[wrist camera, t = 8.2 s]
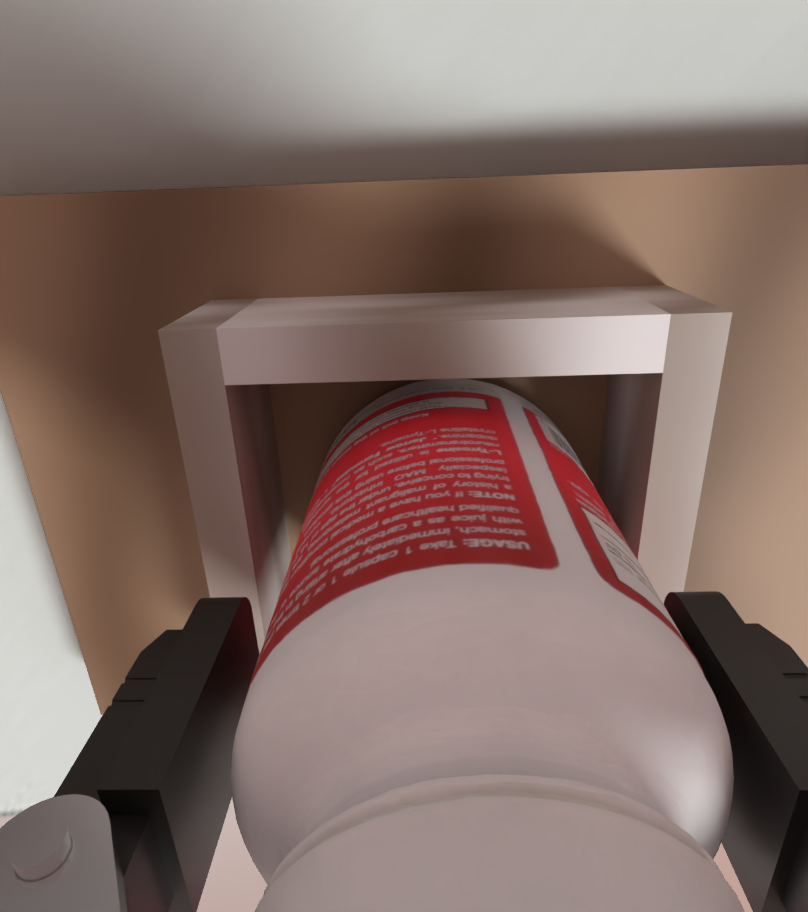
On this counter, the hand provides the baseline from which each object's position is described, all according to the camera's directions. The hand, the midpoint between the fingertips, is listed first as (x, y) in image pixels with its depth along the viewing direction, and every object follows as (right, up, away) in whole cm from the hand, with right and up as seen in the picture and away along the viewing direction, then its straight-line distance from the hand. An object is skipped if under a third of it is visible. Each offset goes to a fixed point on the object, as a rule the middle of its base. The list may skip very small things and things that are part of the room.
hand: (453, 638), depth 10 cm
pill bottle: (0, +2, +5) cm, 5 cm away
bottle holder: (0, +3, +6) cm, 7 cm away
